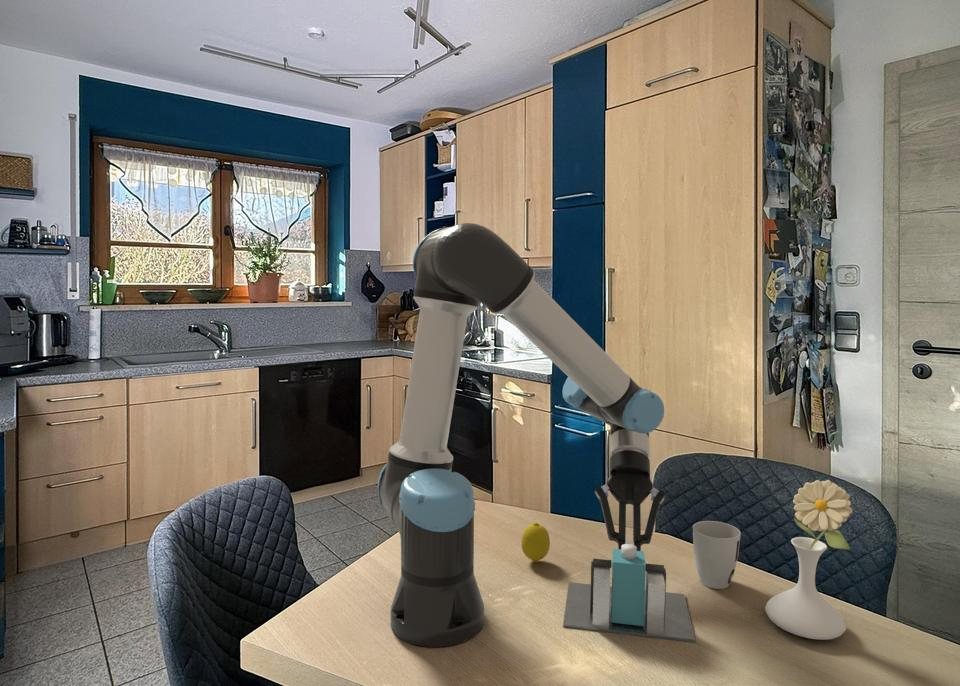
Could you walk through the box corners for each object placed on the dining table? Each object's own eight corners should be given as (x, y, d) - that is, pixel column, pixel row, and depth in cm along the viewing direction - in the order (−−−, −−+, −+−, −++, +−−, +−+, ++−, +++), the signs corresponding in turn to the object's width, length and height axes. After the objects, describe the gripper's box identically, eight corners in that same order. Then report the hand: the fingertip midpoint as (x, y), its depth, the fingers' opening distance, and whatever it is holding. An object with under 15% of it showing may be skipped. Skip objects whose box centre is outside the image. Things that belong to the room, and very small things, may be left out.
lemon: (541, 571, 115) (542, 530, 115) (516, 564, 118) (516, 524, 118) (554, 559, 120) (554, 520, 119) (529, 553, 123) (529, 515, 122)
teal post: (611, 622, 97) (613, 552, 95) (611, 606, 101) (612, 539, 100) (643, 626, 96) (646, 555, 94) (642, 609, 100) (644, 542, 99)
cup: (742, 595, 107) (745, 540, 106) (694, 590, 108) (696, 536, 107) (733, 573, 115) (735, 522, 114) (687, 569, 116) (690, 519, 115)
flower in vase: (749, 612, 101) (756, 466, 99) (806, 603, 104) (815, 461, 101) (809, 659, 89) (819, 493, 86) (872, 648, 91) (884, 486, 89)
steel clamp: (563, 626, 97) (564, 573, 96) (568, 584, 110) (569, 536, 110) (695, 642, 93) (697, 586, 92) (684, 596, 106) (686, 547, 105)
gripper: (663, 469, 120) (667, 592, 105) (595, 465, 123) (591, 584, 108) (666, 450, 114) (670, 577, 100) (595, 446, 117) (590, 569, 103)
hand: (629, 580), depth 104 cm, fingers closed
